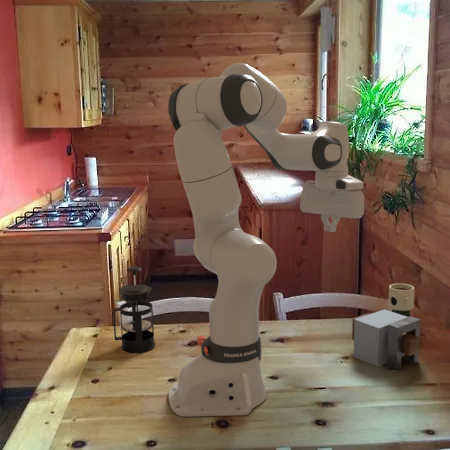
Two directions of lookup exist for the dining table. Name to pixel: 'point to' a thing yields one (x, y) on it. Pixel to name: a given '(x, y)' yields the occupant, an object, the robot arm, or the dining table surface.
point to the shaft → (408, 341)
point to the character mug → (401, 298)
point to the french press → (135, 318)
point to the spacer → (395, 341)
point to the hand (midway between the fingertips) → (330, 231)
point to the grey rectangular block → (373, 336)
